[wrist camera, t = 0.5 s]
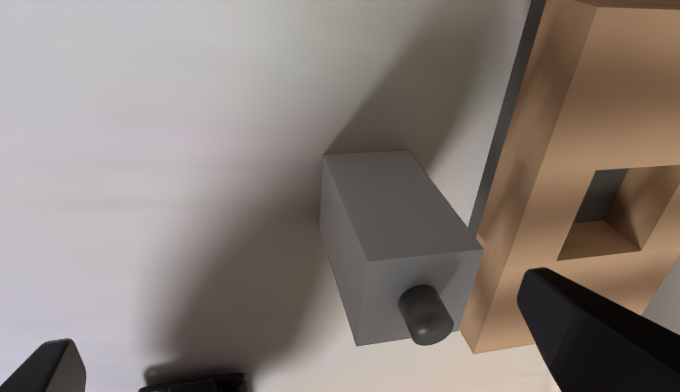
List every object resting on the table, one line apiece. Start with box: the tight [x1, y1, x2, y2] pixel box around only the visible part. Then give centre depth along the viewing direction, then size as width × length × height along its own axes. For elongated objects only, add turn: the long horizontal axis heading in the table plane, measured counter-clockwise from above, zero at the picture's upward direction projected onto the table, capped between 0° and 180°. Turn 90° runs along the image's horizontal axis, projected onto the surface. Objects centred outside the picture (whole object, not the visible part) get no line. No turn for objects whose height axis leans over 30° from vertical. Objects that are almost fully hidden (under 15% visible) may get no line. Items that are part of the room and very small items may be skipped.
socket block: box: [459, 0, 680, 354], centre depth 25 cm, size 20×12×4 cm, turn 176°
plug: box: [319, 150, 484, 346], centre depth 20 cm, size 4×4×10 cm
